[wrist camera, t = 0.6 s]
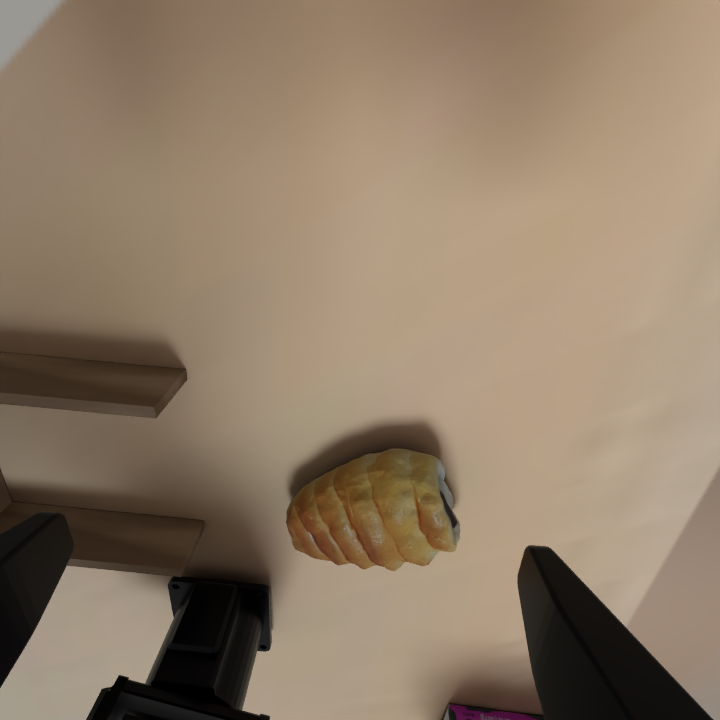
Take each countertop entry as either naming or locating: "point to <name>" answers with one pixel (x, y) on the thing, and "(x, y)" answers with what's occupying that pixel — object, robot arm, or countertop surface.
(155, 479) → the countertop surface
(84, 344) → the countertop surface
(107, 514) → the wooden bracket
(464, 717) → the candy bar box
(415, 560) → the pastry
